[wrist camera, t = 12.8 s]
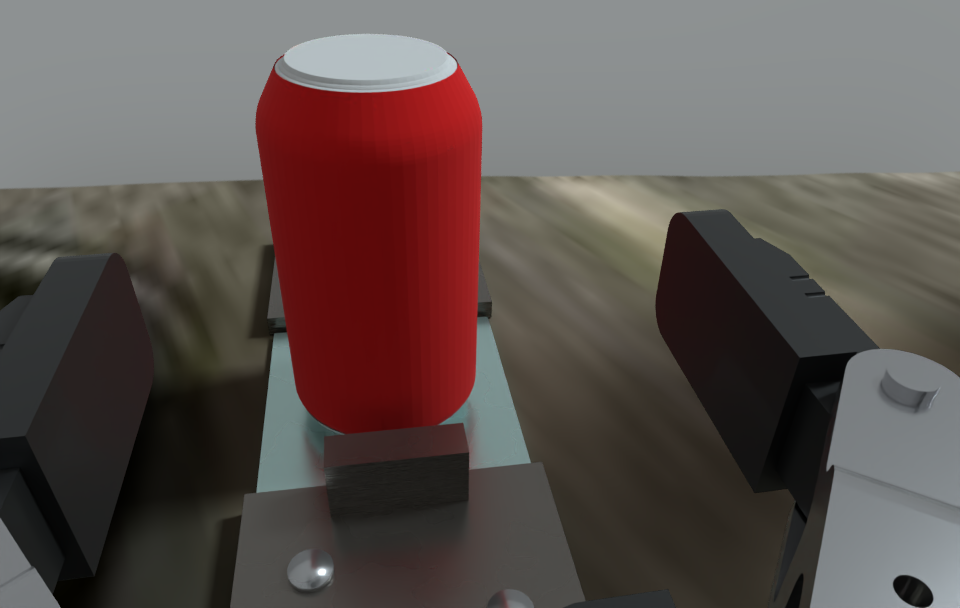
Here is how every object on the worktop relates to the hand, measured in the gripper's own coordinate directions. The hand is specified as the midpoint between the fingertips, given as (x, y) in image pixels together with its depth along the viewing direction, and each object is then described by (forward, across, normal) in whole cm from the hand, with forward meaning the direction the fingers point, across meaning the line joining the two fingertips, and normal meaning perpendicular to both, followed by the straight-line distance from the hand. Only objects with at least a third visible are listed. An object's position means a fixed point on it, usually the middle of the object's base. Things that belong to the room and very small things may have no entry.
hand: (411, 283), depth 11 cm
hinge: (+11, 0, +12) cm, 16 cm away
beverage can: (+10, 0, +12) cm, 16 cm away
